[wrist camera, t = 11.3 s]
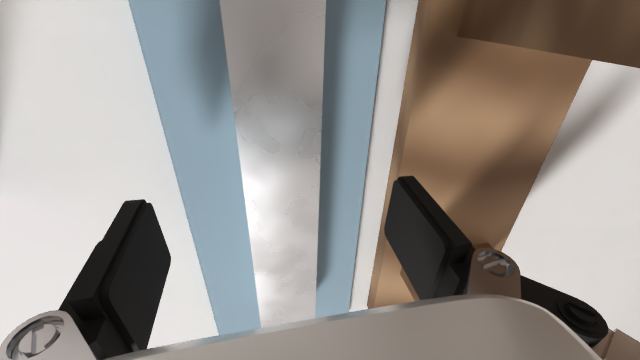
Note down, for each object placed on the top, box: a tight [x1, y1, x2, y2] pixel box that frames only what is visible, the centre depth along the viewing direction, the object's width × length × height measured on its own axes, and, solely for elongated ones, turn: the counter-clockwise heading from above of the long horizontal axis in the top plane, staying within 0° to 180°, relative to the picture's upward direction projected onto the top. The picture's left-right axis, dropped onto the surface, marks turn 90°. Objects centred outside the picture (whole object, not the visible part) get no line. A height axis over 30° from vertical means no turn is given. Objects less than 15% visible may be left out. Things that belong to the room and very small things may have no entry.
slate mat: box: [128, 0, 386, 335], centre depth 16 cm, size 30×10×1 cm, turn 178°
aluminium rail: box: [220, 0, 326, 328], centre depth 14 cm, size 22×3×3 cm, turn 178°
